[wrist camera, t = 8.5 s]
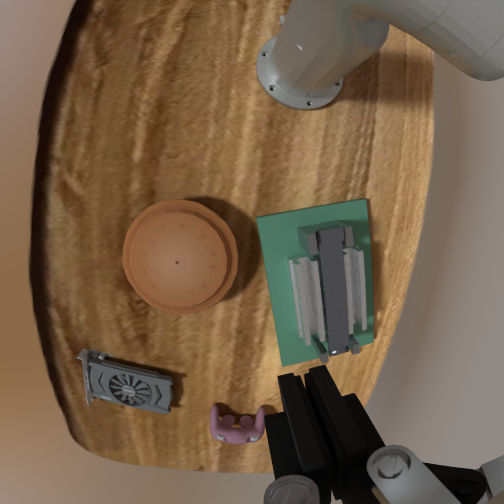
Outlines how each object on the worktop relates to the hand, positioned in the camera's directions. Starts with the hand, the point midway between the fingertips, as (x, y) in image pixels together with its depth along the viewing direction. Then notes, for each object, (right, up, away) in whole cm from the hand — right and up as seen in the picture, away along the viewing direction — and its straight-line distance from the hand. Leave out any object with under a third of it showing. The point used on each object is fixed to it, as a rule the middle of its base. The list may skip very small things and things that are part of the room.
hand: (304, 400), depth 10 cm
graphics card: (-24, -18, +37) cm, 48 cm away
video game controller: (-5, -24, +40) cm, 47 cm away
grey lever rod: (+9, 0, +29) cm, 31 cm away
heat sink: (+9, 0, +34) cm, 35 cm away
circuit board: (+9, 0, +35) cm, 36 cm away
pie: (-12, +5, +32) cm, 35 cm away
